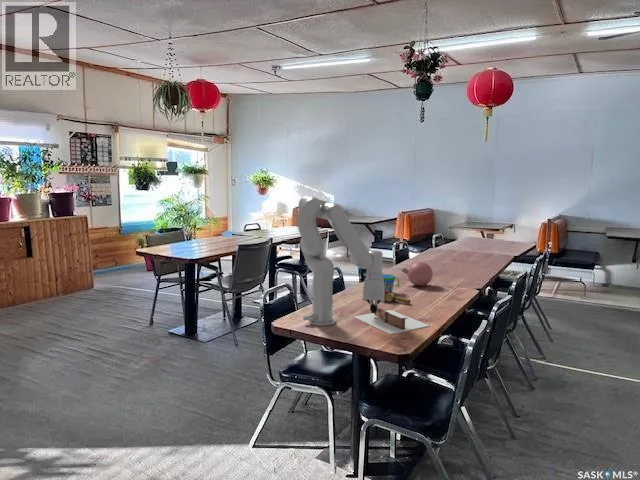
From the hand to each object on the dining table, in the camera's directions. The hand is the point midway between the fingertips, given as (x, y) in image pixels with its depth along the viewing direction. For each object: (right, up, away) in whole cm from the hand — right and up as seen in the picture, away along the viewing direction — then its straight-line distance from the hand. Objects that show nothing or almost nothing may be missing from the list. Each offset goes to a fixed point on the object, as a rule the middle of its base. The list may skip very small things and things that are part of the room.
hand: (373, 312), depth 232 cm
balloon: (+35, +7, +67) cm, 76 cm away
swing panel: (+3, -2, -1) cm, 4 cm away
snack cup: (+13, +4, +49) cm, 51 cm away
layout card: (+7, -3, -6) cm, 10 cm away
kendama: (+15, +1, +29) cm, 32 cm away
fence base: (+8, -4, -13) cm, 16 cm away
